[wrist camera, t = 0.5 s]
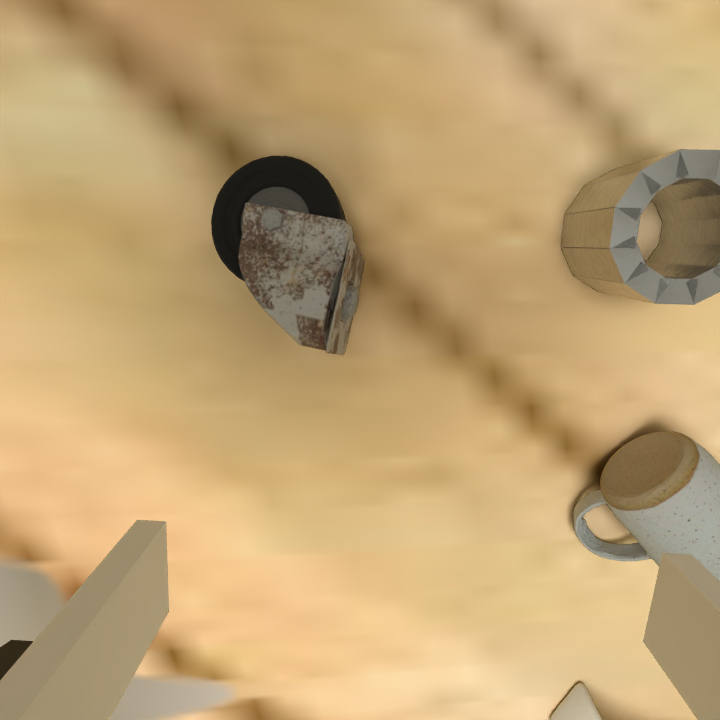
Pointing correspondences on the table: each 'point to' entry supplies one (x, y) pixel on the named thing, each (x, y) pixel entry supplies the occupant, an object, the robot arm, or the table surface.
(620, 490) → the ceramic mug
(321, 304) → the caster wheel
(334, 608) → the table surface
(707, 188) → the tube
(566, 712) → the spoon rest
